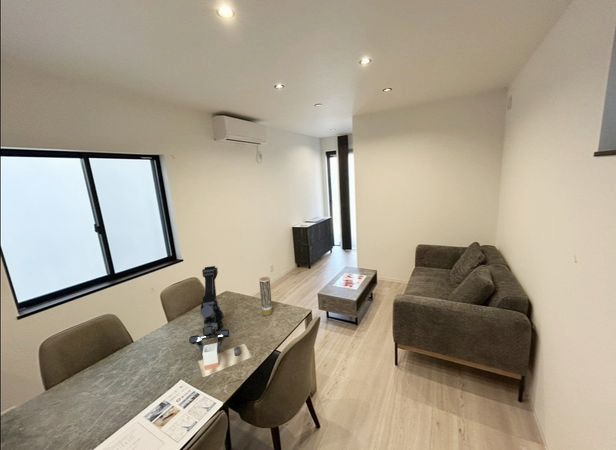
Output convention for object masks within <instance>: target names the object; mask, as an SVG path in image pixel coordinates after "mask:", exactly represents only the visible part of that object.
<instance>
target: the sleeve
mask: <svg viewBox="0 0 616 450" xmlns="http://www.w3.org/2000/svg"><path fill="white" fill-rule="evenodd" d="M217 346H218V342H215V343H210V344H205V345H204V344H203V356H202V360H203V361H204V368H205V370H208V369H213V368H217V367H219V353H220V352H219V353H218V354H217Z"/></svg>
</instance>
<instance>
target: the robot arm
mask: <svg viewBox="0 0 616 450" xmlns="http://www.w3.org/2000/svg"><path fill="white" fill-rule="evenodd" d="M201 272H202V277H203V278H204V289H205V290H204V296H203V297H202V302H201V303H200V314H201V317H202V319H203V327H202V335H203V336H202V335H201V336H199V334H196V335H191V336H189V338H188V342H189V344H190V345H196V346H198V348H199V350H200V353H201V356H202V357H203V348H204V343H203V341H204V340H205V341H206V340H210V339H216V338H217V343H218V346H217V354H218V353H220V349H221V346H222V343H223V341H224V340H226V338H230V336H231V334H230V333H231V332H230V329H228V328H226V329H222V328H223V327H224V324H223V319H224V313H223V311H222V310H221V307H220V305H219V301H218V300H217V289H216V278H217V277H218V274H219V272H218V267H216V265H215V266H214V265H212V266H205V267H204V268H202V271H201ZM219 331H220V332H219Z"/></svg>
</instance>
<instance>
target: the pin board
mask: <svg viewBox="0 0 616 450" xmlns="http://www.w3.org/2000/svg"><path fill="white" fill-rule="evenodd" d="M252 357H253V356H252V354H251V352H250V351H249V349H248V347H247V345H246V344H245V343H242V344H239V345H236V346H234V347H232V348H228V349H227V350H223V351H221V352H219V367H217V368H213V369H208V370H205V368H204V361H203V359H201V360H198V365H199V368H200V369H199V370H200V373H201V376H202V378H205V377H207V376H210V375H212V374H214V373H218V372H220V371H222V370H224V369H226V368H229V367H231V366H234V365H236V364H239V363H240V362H243V361H247V360H249V359H251V358H252Z"/></svg>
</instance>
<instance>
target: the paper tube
mask: <svg viewBox="0 0 616 450" xmlns="http://www.w3.org/2000/svg"><path fill="white" fill-rule="evenodd" d="M259 291H260V302H261V304H260V305H261V314H262V315H264V316H270V315H271V314H273V307H272V306H273V303H272V291H271V280H270V277H269V276H263V277H260V278H259Z"/></svg>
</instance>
